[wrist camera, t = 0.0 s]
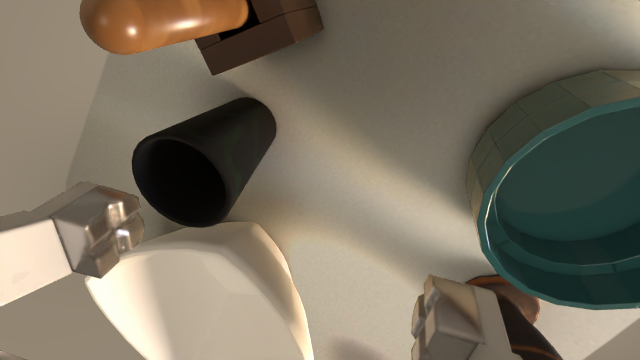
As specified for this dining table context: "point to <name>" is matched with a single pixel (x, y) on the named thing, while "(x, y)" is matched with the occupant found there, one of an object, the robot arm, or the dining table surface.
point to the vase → (519, 319)
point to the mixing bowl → (564, 192)
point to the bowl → (206, 297)
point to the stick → (159, 21)
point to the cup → (203, 161)
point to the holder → (261, 33)
